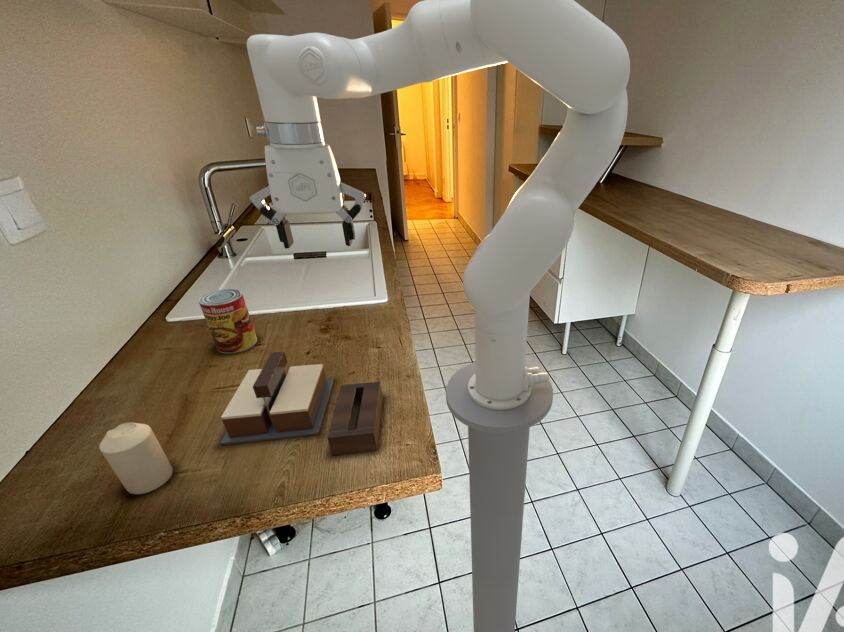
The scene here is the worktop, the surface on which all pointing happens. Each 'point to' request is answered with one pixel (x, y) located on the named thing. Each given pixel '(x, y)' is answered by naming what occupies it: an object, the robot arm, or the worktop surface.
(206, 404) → the worktop surface
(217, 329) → the canned food
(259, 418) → the cake
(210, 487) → the worktop surface
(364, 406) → the knife block
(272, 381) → the cake cutter
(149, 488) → the candle
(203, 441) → the worktop surface
